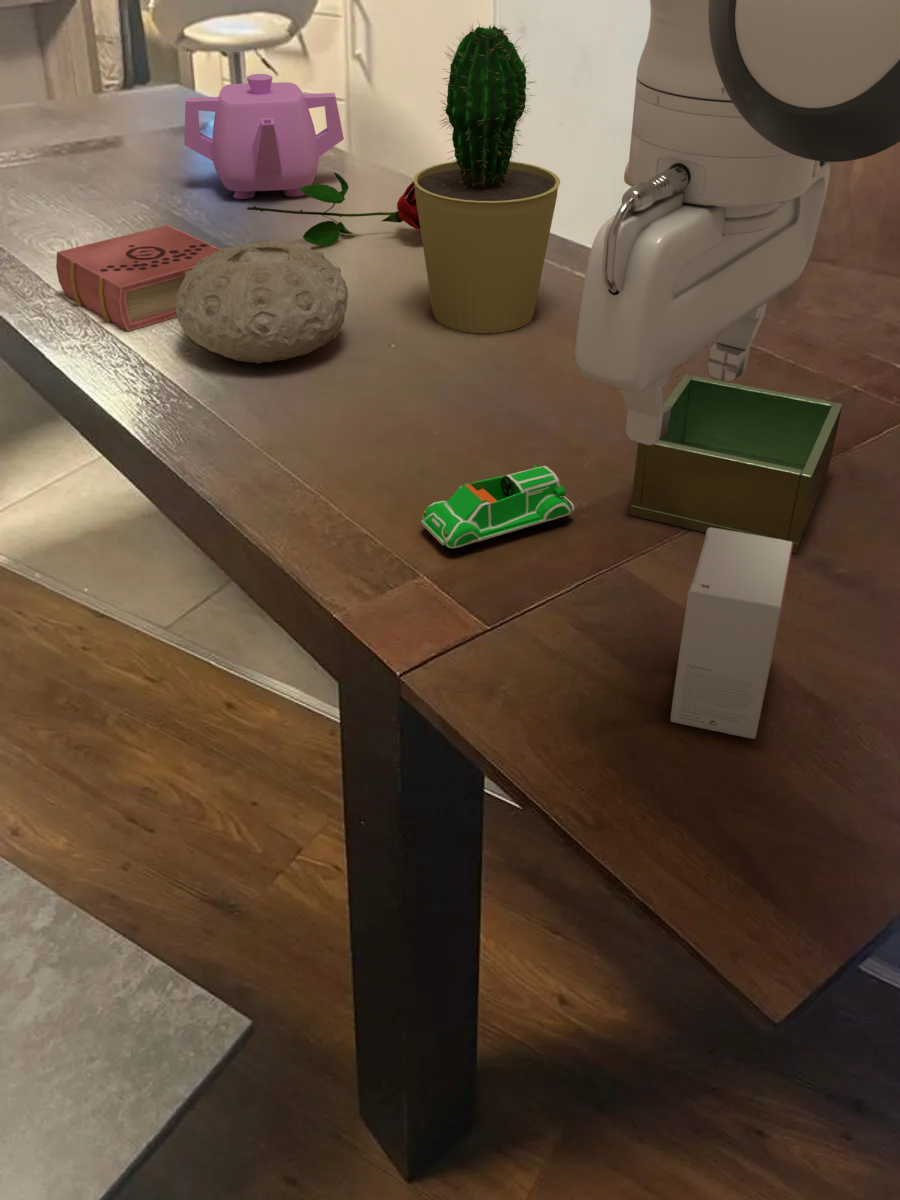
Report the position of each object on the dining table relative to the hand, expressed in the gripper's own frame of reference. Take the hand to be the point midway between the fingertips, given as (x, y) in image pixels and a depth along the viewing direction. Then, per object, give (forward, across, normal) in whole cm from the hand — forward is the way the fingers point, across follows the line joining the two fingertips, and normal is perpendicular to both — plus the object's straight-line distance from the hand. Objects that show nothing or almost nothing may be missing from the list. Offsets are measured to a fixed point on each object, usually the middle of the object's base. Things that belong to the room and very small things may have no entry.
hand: (687, 405), depth 65 cm
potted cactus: (+22, +49, +48) cm, 72 cm away
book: (+22, +29, +81) cm, 89 cm away
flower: (+22, +60, +73) cm, 97 cm away
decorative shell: (+22, +28, +61) cm, 71 cm away
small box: (+22, +4, -3) cm, 23 cm away
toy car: (+22, +13, +21) cm, 33 cm away
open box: (+22, +29, +8) cm, 37 cm away
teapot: (+22, +69, +100) cm, 123 cm away
